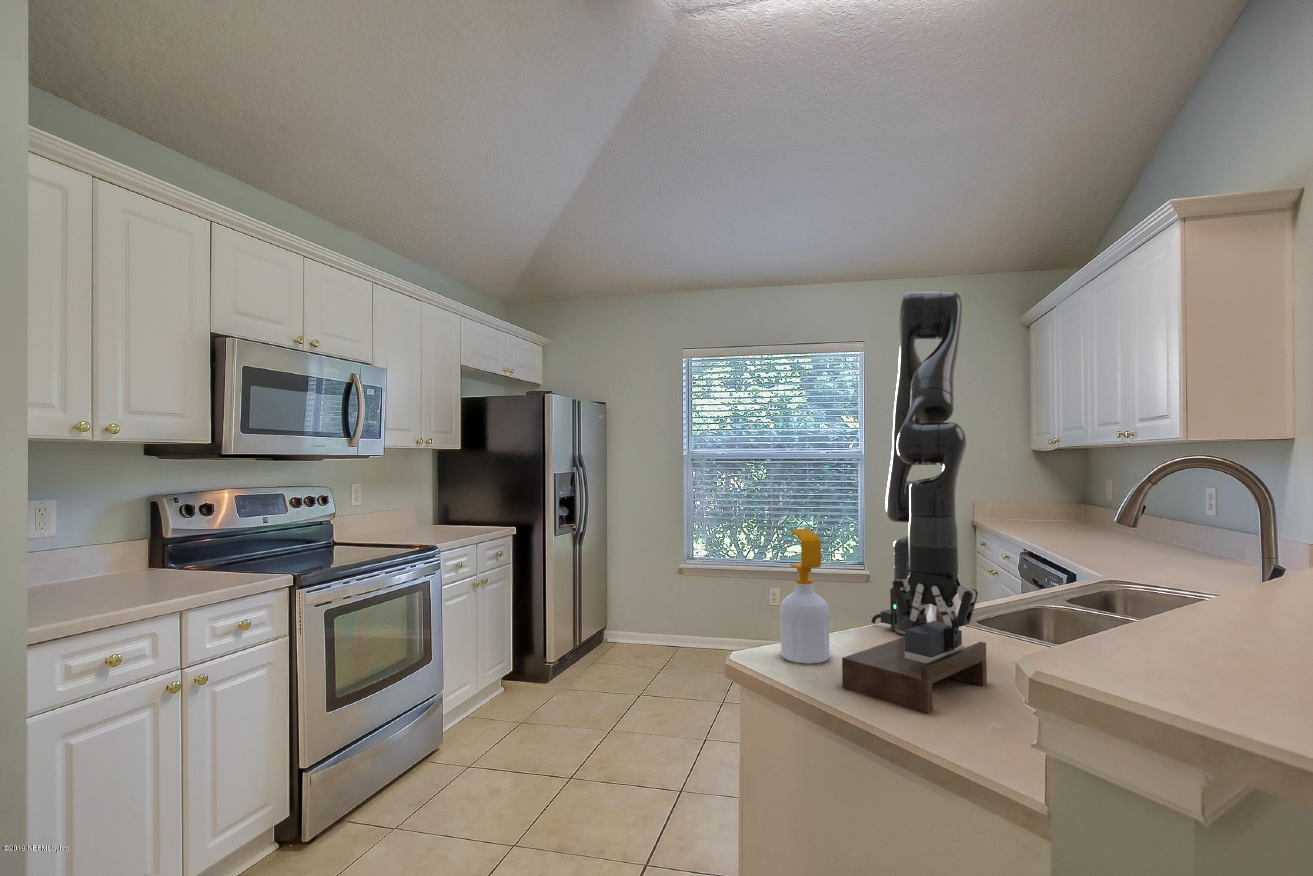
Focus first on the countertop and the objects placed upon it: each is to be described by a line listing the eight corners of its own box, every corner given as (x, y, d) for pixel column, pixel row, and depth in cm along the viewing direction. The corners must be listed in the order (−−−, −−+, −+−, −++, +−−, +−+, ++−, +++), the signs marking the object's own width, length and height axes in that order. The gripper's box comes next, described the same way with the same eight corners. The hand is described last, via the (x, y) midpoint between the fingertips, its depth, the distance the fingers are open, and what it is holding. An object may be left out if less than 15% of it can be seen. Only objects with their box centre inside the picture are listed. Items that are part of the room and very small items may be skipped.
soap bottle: (812, 648, 133) (811, 526, 134) (838, 661, 125) (837, 531, 125) (772, 653, 130) (771, 528, 131) (796, 666, 122) (795, 533, 123)
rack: (842, 687, 111) (841, 645, 111) (904, 663, 124) (904, 625, 124) (927, 714, 99) (927, 667, 99) (986, 684, 112) (986, 642, 112)
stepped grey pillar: (931, 664, 104) (930, 635, 104) (904, 658, 107) (904, 630, 107) (963, 651, 111) (963, 624, 111) (937, 645, 114) (937, 619, 114)
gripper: (987, 545, 106) (989, 652, 106) (904, 537, 117) (906, 634, 117) (965, 549, 102) (967, 661, 101) (881, 540, 112) (882, 642, 112)
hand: (934, 646), depth 109 cm, fingers closed on stepped grey pillar, 4 cm apart
